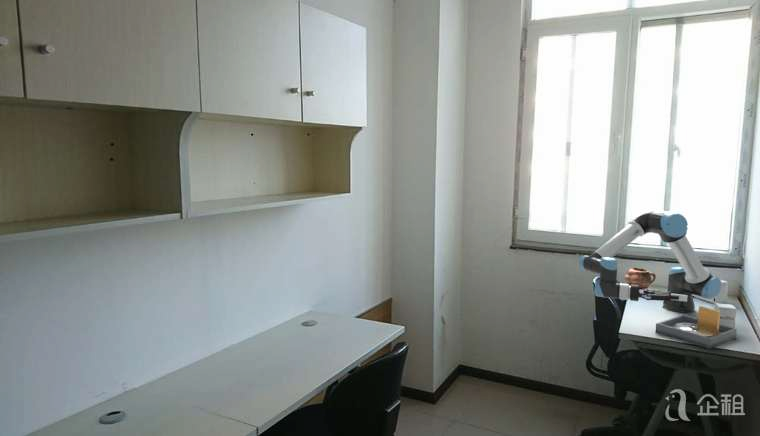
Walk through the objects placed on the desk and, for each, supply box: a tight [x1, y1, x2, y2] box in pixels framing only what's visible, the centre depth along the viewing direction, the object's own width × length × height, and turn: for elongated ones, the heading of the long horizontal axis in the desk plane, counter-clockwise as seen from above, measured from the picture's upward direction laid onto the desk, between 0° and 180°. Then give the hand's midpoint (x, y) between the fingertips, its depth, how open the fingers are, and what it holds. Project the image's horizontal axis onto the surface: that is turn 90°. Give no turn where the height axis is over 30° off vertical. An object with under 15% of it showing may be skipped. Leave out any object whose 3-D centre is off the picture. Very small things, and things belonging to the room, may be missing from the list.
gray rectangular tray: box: [654, 314, 738, 349], centre depth 238 cm, size 24×24×4 cm
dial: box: [674, 305, 721, 338], centre depth 237 cm, size 18×17×12 cm
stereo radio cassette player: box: [692, 279, 729, 305], centre depth 296 cm, size 21×8×20 cm, turn 13°
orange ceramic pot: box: [624, 267, 657, 290], centre depth 313 cm, size 20×12×14 cm, turn 104°
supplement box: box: [714, 303, 737, 328], centre depth 244 cm, size 7×7×13 cm
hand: (687, 298), depth 233 cm, fingers closed
